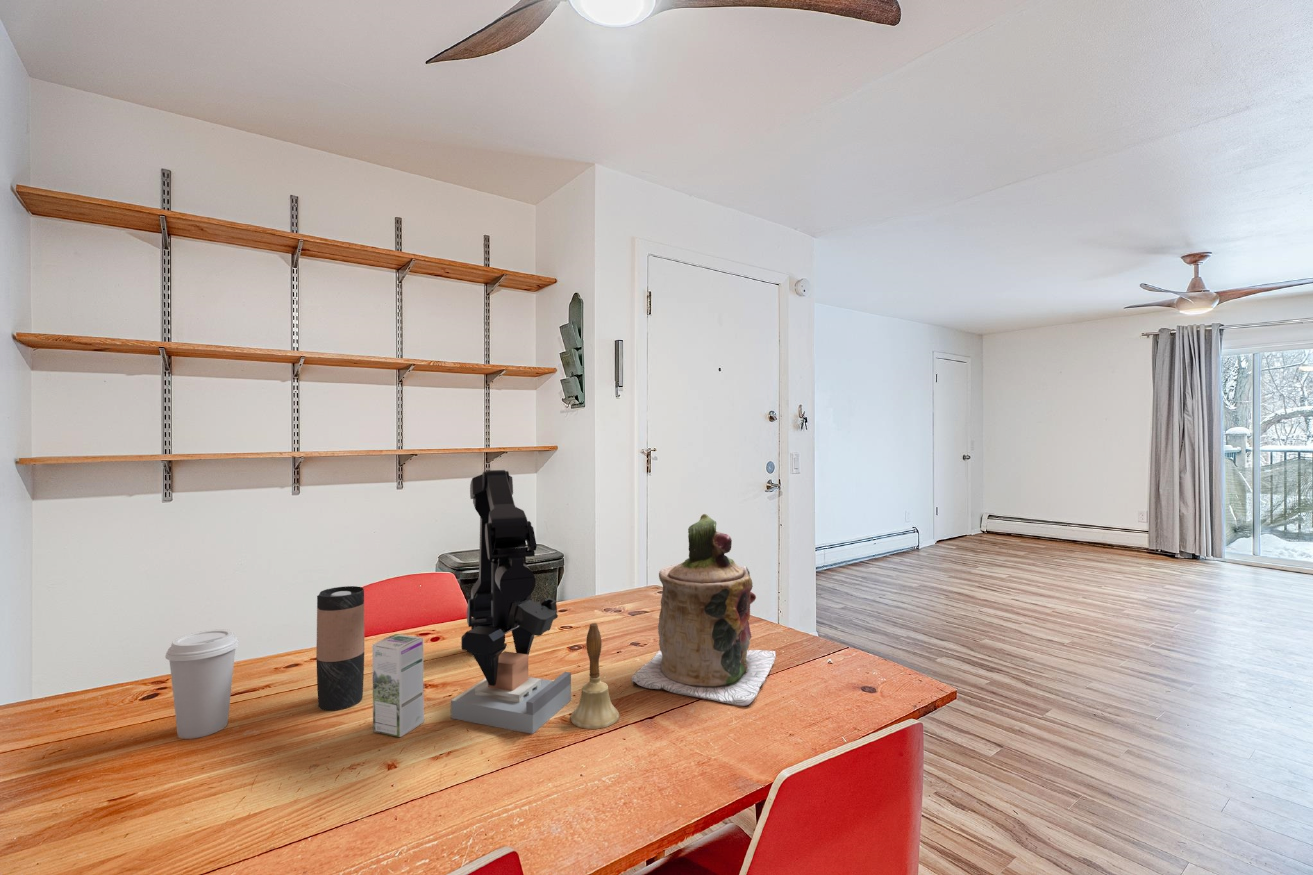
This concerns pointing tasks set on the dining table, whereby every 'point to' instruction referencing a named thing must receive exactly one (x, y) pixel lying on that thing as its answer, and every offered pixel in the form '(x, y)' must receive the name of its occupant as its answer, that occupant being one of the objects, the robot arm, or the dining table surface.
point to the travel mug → (340, 647)
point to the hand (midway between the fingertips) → (508, 674)
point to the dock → (514, 706)
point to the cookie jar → (706, 625)
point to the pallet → (506, 693)
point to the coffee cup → (202, 681)
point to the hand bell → (594, 691)
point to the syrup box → (398, 684)
